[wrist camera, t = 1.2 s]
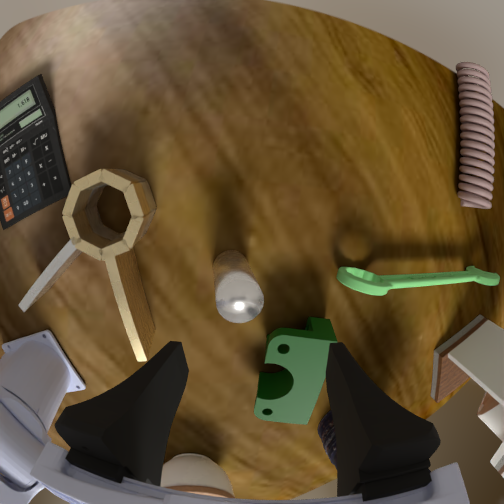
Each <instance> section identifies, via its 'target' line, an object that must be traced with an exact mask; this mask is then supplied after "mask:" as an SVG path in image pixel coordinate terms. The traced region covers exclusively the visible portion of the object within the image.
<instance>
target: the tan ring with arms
mask: <svg viewBox="0 0 504 504" xmlns="http://www.w3.org/2000/svg"><path fill="white" fill-rule="evenodd" d="M108 185H110V186H112V187H114V188H116V189H118V190H121V191H123V193H124V196H125V199H126V202H127V205H128V207H129V210H130V213H131V216H132V217H131V220H130V222H129V225H128V227H127V230H126V232H124V233H121V234H120V233H118V232H116V231H114V230H112V229H110V228H108V227H106V226H104V225H103V223H102V220H101V217H100V215H99V212H98V209H97V204H98V201H99V198H100V196H101V193H102V191H103V188H104V187H106V186H108ZM156 207H157V206H156V204H155V201H154V198H153V195H152V192H151V189H150V186H149V183H148V182H146V179H144V178H142V177H139V176H137V175H135V174H133V173H131V172H129V171H126V170H124V169H99V170H97V171H95V172H93V173H91V174H89V175H87V176H85V177H83V178H81V179H79V180H77V181H75V182H74V184H72V186H71V189H70V191H69V194H68V197H67V200H66V203H65V206H64V209H63V212H62V214H64V216H62V218H63V220H64V223H65V226H66V229H67V231H68V234H69V237H70V240H69V242H68V243H67V244H66V245H65V246H64V247H63V248H62V250H61V251H60V252H59V253H58V254H57V256H56V257H55V258H54V259H53V260H52V262H51V263H50V264H49V265H48V266H47V268H46V269H45V270H44V271H43V273H42V274H41V275H40V277H39V278H38V279H37V280H36V282H35V283H34V284H33V286H32V287H31V288H30V290H29V291H28V292H27V294H26V295H25V296H24V298H23V299H22V301H21V302H20V303H19V305H18V306H19V307H20V308H21V309H22V310H23V312H25V311H26V310H27V309H28V308H29V307H30V306H32V305H33V304H34V303H35V302H36V301H37V300H38V299H39V298H40V297H41V296H43V295H44V294H45V293H46V292H47V291H48V290H49V289H50V288H51V287H52V285H53V284H54V283H55V282H56V281H57V280H58V278H59V277H60V276H61V275H62V274H63V273H64V272H65V270H66V269H67V268H68V267H69V266H70V265H71V264H72V263H73V261H74V260H75V259H76V258H77V257H78V256H79V255H80V254H81V253H82V252H84V253H86V254H88V255H90V256H92V257H94V258H96V259H98V260H100V261H101V260H103V261H104V260H105V262H106V266H107V270H108V274H109V277H110V281H111V284H112V288H113V291H114V294H115V298H116V301H117V304H118V307H119V310H120V314H121V317H122V320H123V322H124V325H125V328H126V331H127V334H128V337H129V339H130V342H131V345H132V348H133V350H134V353H135V355H136V358H137V360H138V362H140V361H147V360H148V356H149V352H150V348H151V344H152V340H153V336H154V333H155V326H154V323H153V320H152V316H151V313H150V310H149V306H148V303H147V299H146V295H145V292H144V288H143V284H142V280H141V277H140V273H139V268H138V264H137V260H136V256H135V252H134V247H133V246H134V245H135V244H136V243H137V242H138V241H139V240H140V239H141V238H142V237H143V236H144V235H145V234H146V232H147V230H148V227H149V225H150V223H151V220H152V218H153V216H154V214H155V211H156V209H155V208H156Z"/></svg>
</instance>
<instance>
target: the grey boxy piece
mask: <svg viewBox="0 0 504 504" xmlns="http://www.w3.org/2000/svg"><path fill="white" fill-rule="evenodd" d="M469 377H471V378H472V379H473V380H474V381H476V382H477V383H478V384H479V385H480V386H481V387H482V388H484V389H485V390H486V392H485V395H484V397H483V400H482V402H481V404H480V407H479V409H478V412H477V416H478V417H479V418H480V419H481V420H482V421H483V422H484V423H485V424H486V425H487V426H488V427H489V428H490V429H491V430H492V431H493V432H494V433H495V434H496V435H497V436H498V437H499V438H500V439H501V440H502V441H503V443H502V444H501V446H500V447H499V449H498V450H497V452H496V453H495V455H494V456H493V458H492V459H491V461H490V462H491V464H492V465H493V466H494V467H495V468H496V469H497V471H498V472H499V473H500V474H501V475H502V476H503V477H504V329H502V328H501V327H499V326H497V325H496V324H494V323H493V322H491V321H490V320H488V319H487V318H485V317H483V316H482V315H478V316H477V317H476V318H475V319H474V320H473V321H471V322H470V323H469V324H468V325H466V326H465V327H464V328H463V329H462V330H460V331H459V332H458V333H456V334H455V335H454V336H453V337H451V338H450V339H449V340H447V341H446V342H445V343H443V344H442V345H441V346H439V347H438V348H436V349H435V350H434V363H433V378H432V389H431V397H432V398H433V399H434V400H435V401H436V402H437V403H438V402H439V401H441V400H442V399H443V398H445V397H446V396H447V395H449V394H450V393H451V392H452V391H454V390H455V389H456V388H457V387H459V386H460V385H461V384H462V383H464V382H465V381H466V380H467V379H468V378H469Z"/></svg>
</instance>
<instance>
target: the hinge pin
mask: <svg viewBox="0 0 504 504" xmlns="http://www.w3.org/2000/svg"><path fill="white" fill-rule="evenodd" d="M213 274H214V285H215V295H216V305H217V309H218V311H219V313H220V315H221V316H222V317H223V318H225V319H226V320H228V321H230V322H234V323H244V322H248V321H250V320H252V319H254V318H255V317H256V316H257V315H258V314H259V313H260V311H261V310H262V307H263V304H264V297H263V293H262V291H261V289H260V287H259V285H258V283H257V281H256V278H255V276H254V274H253V272H252V270H251V268H250V266H249V264H248V262H247V260H246V258H245V256H244V255H243V254H241V253H240V252H238V251H235V250H227V251H224V252H222V253H220V254H219V255H218V256H217V257H216V259H215V260H214V263H213Z"/></svg>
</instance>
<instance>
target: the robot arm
mask: <svg viewBox="0 0 504 504" xmlns="http://www.w3.org/2000/svg"><path fill="white" fill-rule="evenodd" d="M44 334H45V335H46V336H45V335H44ZM2 348H3V350H4V352H5V354H4V355H3V356H2V358H1V359H0V472H1V473H2V474H3V475H4V476H3V475H1V474H0V504H28V503H29V502H30V501H31V499H32V498H33V497H34V496H35V494H37V493H38V492H39V491H40V490H42V489H44V488H47V489H48V490H49V491H51V492H52V493H53V494H55V495H56V496H58V497H60V498H62V499H63V500H65V501H67V502H69V503H71V504H469V503H470V502H469V499H468V495H467V492H466V489H465V485H464V482H463V479H462V476H461V472H460V469H459V466H458V464H457V463H456V462H455V463H452V464H450V465H447V466H444V467H441V468H438V469H436V470H434V471H432V472H429V469H428V467H430V461H429V458H430V457H431V456H432V454H433V453H434V452H435V451H436V450H437V448H438V447H439V445H440V438H439V435H438V432H437V430H436V429H435V427H434V425H433V423H431V422H429V421H426V420H425V419H422V418H420V417H418V416H416V415H415V414H413V413H411V412H410V411H408V410H406V409H405V408H403V407H402V406H400V405H399V404H398V403H396V402H395V401H394V400H392V399H391V398H390V397H389V396H387V395H386V394H385V393H384V392H383V391H382V390H381V389H380V388H379V387H378V386H377V385H376V384H375V383H374V382H373V381H372V380H371V379H370V378H369V377H368V376H367V374H366V373H365V372H364V371H363V370H362V368H361V367H360V366H359V365H358V363H357V362H356V361H355V359H354V358H353V357H352V355H351V354H350V352H349V351H348V349H347V348H346V346H345V345H344V344H343V343H342V342H338V343H330V345H329V352H328V360H327V366H326V384H327V392H328V397H329V402H330V407H331V412H332V417H333V421H334V426H335V433H336V447H337V477H338V484H337V485H338V486H337V487H338V488H337V497H332V498H321V499H306V500H250V499H235V498H225V497H216V496H208V495H201V494H195V493H189V492H183V491H178V490H173V489H168V488H164V487H160V486H161V476H162V469H163V462H164V456H165V451H166V446H167V441H168V436H169V432H170V428H171V425H172V422H173V419H174V416H175V414H176V411H177V408H178V406H179V403H180V400H181V398H182V395H183V392H184V389H185V386H186V382H187V377H188V372H189V369H188V366H187V362H186V358H185V354H184V351H183V347H182V343H181V342H176V341H170V342H169V343H167V344H166V345H165V346H164V347H163V348H162V349H161V350H160V351H159V352H158V353H157V354H156V355H155V356H154V357H153V358H151V359H150V360H149V361H148V362H147V363H146V364H145V365H144V366H142V367H141V368H140V369H139V370H138V371H136V372H135V373H134V374H133V375H131V376H130V377H129V378H127V379H126V380H125V381H123V382H122V383H120V384H118V385H117V386H115V387H114V388H112V389H110V390H108V391H106V392H104V393H103V394H101V395H99V396H96V397H94V398H92V399H89V400H87V401H84V402H81V403H78V404H75V405H72V406H68V407H66V408H65V409H64V411H63V412H62V414H61V415H60V417H59V418H58V420H57V422H56V423H55V428H56V430H57V432H58V433H59V435H60V436H61V437H62V438H63V439H64V440H65V442H66V443H67V444H68V445H69V446H70V447H71V449H70V451H69V452H68V451H67V450H65V449H64V448H62V447H60V446H58V445H56V444H53V443H51V440H52V439H51V438H50V437H49V436H48V435H47V432H48V430H49V428H50V425H51V423H52V421H53V419H54V417H55V414H56V412H57V410H58V408H59V406H60V404H61V402H62V400H63V397H64V395H65V393H67V392H73V391H79V390H84V389H85V388H86V385H85V383H84V382H83V380H82V379H81V378H80V376H79V375H78V373H77V372H76V370H75V369H74V368H73V366H72V365H71V363H70V362H69V360H68V358H67V357H66V355H65V354H64V352H63V351H62V349H61V347H60V346H59V344H58V343H57V341H56V339H55V337H54V336H53V334H52V332H51V331H50V330H44V331H41V332H38V333H35V334H32V335H29V336H26V337H23V338H19V339H16V340H13V341H10V342H7V343H4V344H3V345H2Z"/></svg>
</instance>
